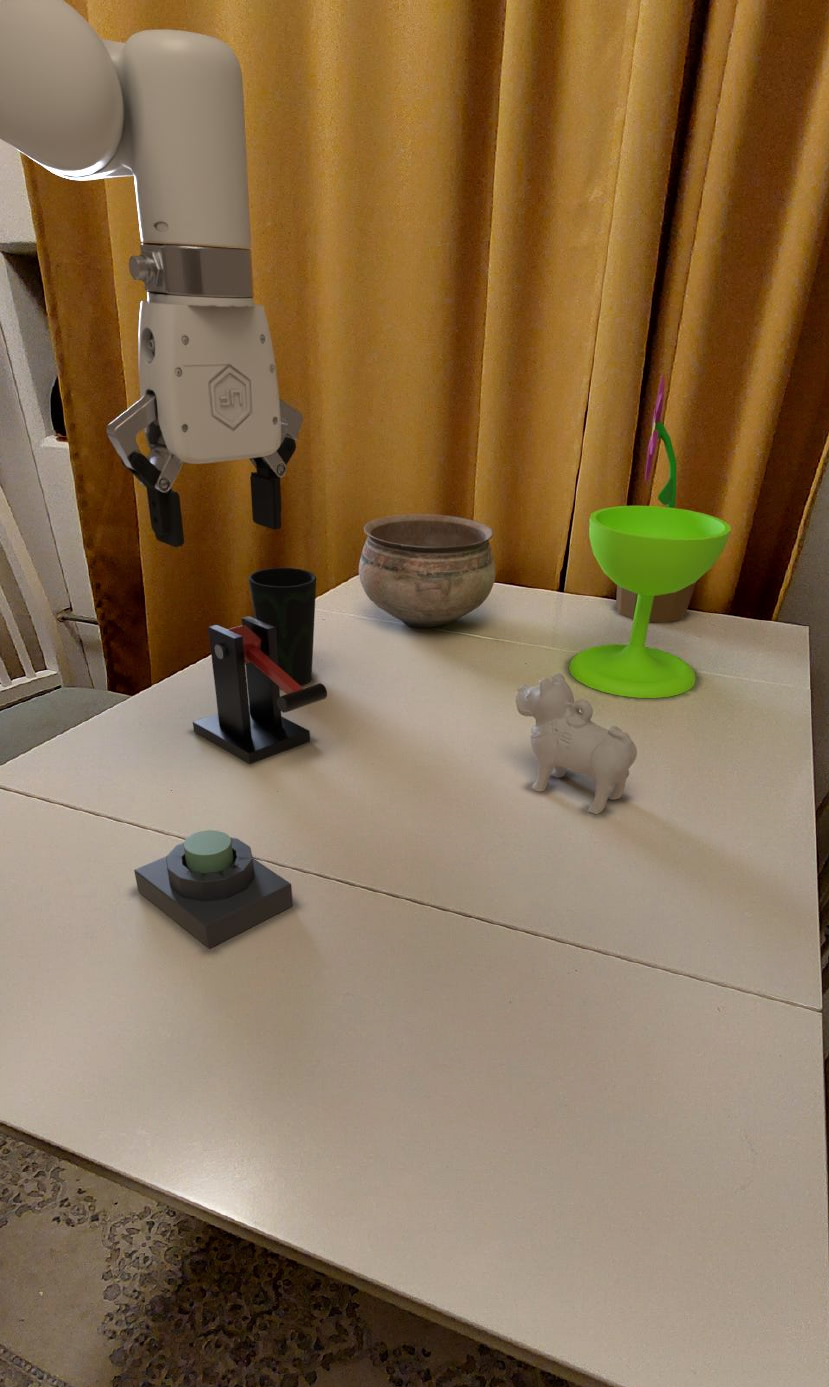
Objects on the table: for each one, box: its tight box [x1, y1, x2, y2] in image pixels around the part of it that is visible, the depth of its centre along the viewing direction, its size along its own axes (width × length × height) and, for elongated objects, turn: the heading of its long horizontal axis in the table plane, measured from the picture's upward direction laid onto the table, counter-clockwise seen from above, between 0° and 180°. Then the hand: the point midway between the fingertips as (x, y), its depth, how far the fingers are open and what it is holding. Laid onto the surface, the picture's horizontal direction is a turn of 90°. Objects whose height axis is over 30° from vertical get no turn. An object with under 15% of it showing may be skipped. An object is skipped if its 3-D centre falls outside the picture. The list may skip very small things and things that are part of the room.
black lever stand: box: [192, 616, 311, 764], centre depth 90 cm, size 10×8×12 cm
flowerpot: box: [615, 374, 698, 623], centre depth 122 cm, size 14×14×30 cm
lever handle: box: [227, 625, 328, 714], centre depth 86 cm, size 12×5×2 cm, turn 45°
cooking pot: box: [358, 513, 497, 629], centre depth 122 cm, size 25×19×12 cm
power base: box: [133, 836, 294, 949], centre depth 69 cm, size 10×8×4 cm
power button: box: [183, 829, 233, 873], centre depth 68 cm, size 4×4×2 cm
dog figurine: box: [515, 672, 638, 815], centre depth 84 cm, size 5×13×11 cm, turn 51°
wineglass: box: [568, 505, 732, 699], centre depth 106 cm, size 16×16×18 cm
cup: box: [248, 567, 317, 687], centre depth 103 cm, size 8×8×12 cm
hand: (220, 534), depth 73 cm, fingers open, 9 cm apart
